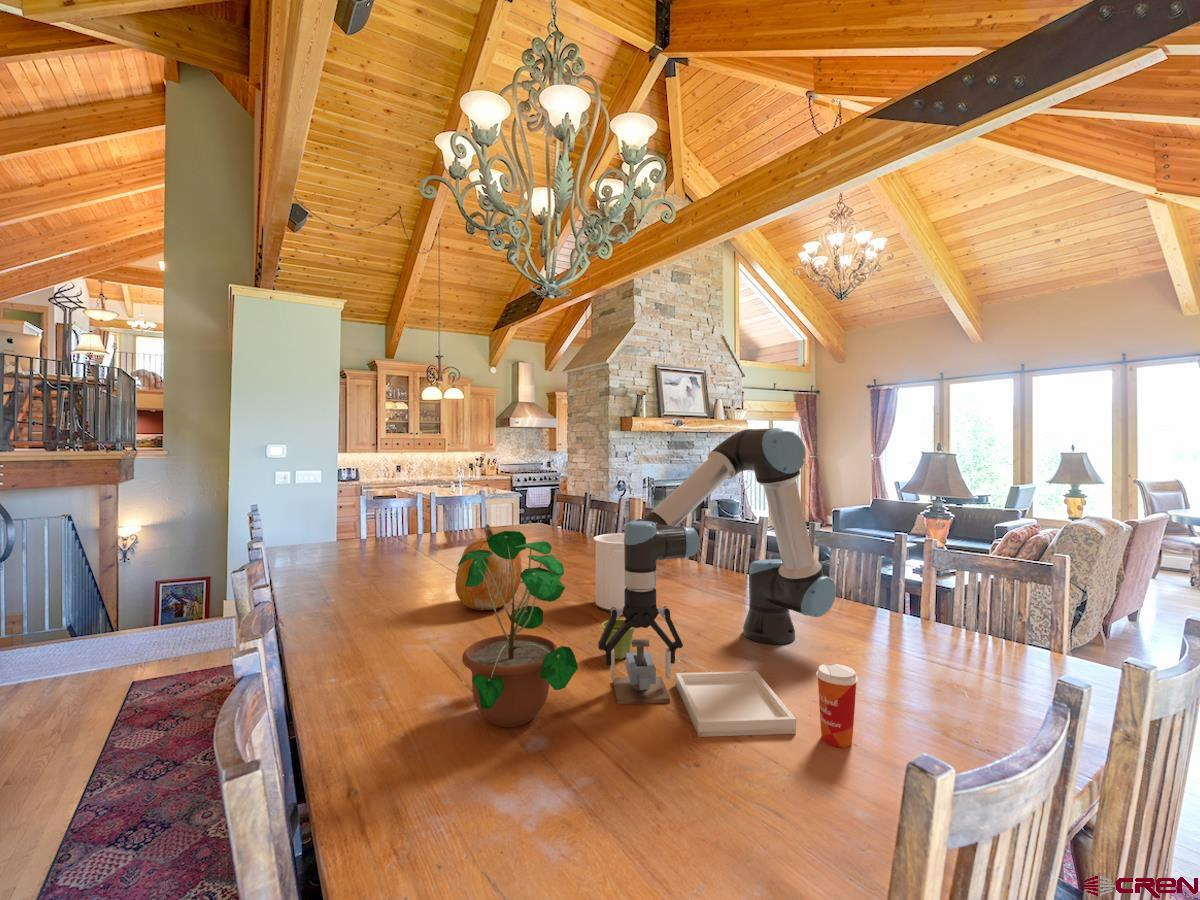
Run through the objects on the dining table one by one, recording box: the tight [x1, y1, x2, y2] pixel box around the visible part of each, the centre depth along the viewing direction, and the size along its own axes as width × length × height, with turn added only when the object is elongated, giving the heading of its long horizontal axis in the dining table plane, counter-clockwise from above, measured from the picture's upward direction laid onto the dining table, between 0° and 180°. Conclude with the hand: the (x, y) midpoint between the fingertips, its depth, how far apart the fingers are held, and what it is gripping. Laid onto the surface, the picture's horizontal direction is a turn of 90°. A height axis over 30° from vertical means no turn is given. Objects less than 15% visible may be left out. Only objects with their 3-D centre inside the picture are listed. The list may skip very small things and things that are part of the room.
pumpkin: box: [455, 524, 523, 611], centre depth 204 cm, size 26×23×30 cm
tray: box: [675, 670, 797, 738], centre depth 126 cm, size 20×24×3 cm
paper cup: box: [815, 663, 859, 749], centre depth 112 cm, size 8×8×14 cm
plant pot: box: [601, 618, 635, 660], centre depth 157 cm, size 9×9×9 cm
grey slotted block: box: [625, 652, 657, 690], centre depth 132 cm, size 13×6×3 cm, turn 3°
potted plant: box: [457, 530, 579, 728], centre depth 123 cm, size 31×29×40 cm
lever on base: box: [612, 638, 671, 705], centre depth 134 cm, size 12×12×12 cm
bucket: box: [593, 532, 626, 613], centre depth 205 cm, size 26×22×24 cm
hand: (640, 677), depth 134 cm, fingers open, 12 cm apart
